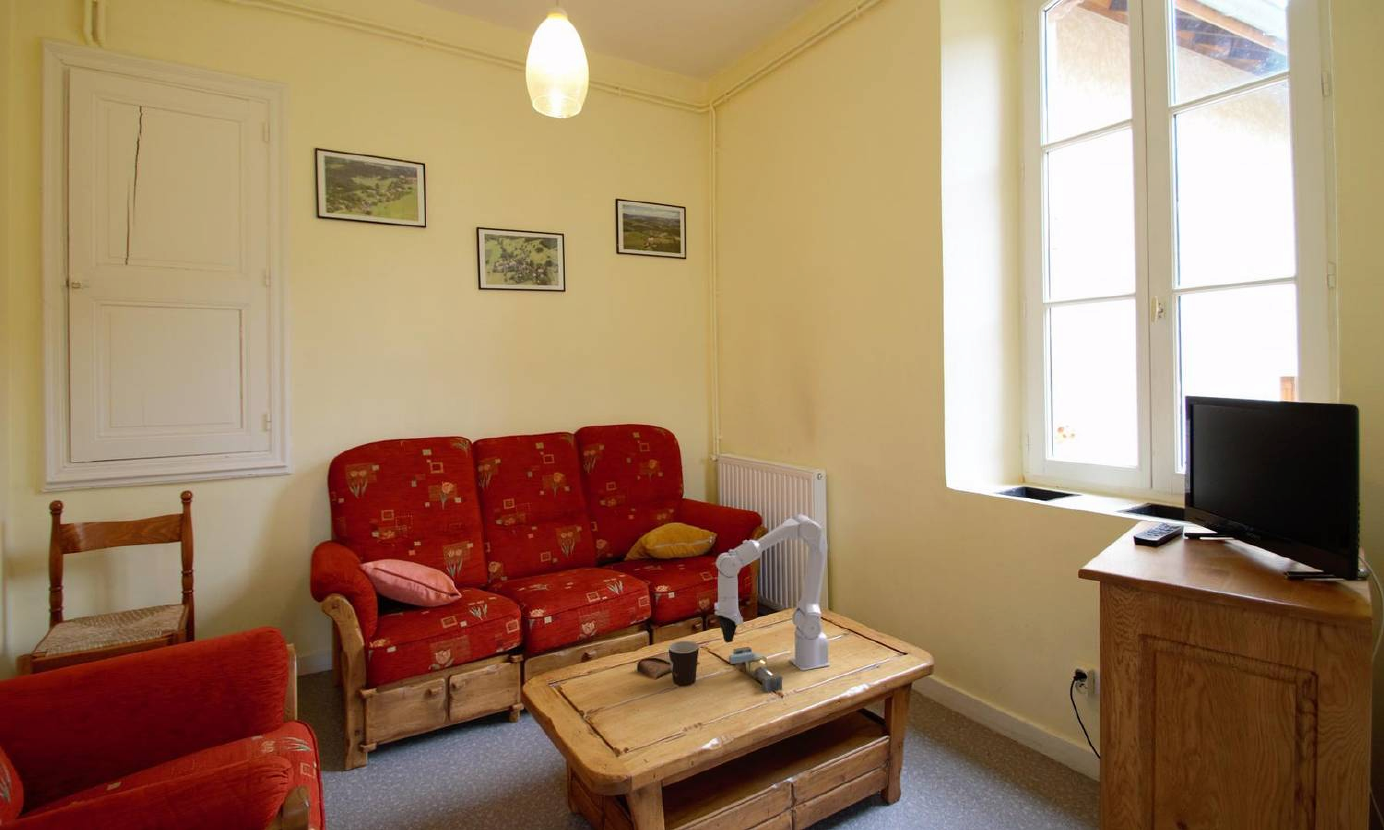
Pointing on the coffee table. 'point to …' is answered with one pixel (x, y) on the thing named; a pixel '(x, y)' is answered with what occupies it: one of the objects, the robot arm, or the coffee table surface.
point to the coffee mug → (683, 662)
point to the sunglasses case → (655, 666)
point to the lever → (744, 657)
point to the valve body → (761, 672)
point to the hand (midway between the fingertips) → (728, 641)
